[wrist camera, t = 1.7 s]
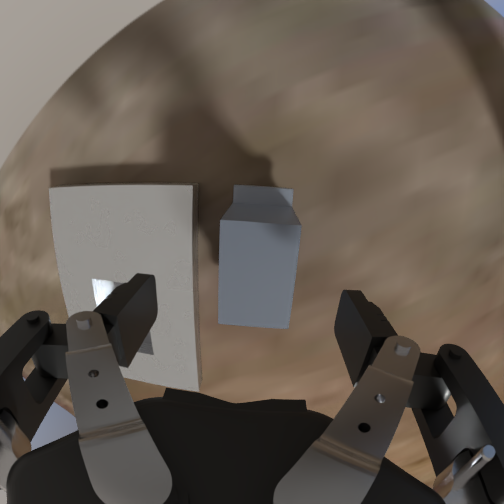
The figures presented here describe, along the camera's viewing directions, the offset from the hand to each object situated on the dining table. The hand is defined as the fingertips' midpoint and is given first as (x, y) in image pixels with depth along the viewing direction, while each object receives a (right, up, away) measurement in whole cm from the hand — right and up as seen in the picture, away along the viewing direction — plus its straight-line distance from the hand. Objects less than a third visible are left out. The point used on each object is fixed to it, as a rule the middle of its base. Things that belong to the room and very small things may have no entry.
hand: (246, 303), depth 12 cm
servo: (+1, +3, +11) cm, 11 cm away
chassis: (-11, -2, +13) cm, 17 cm away
